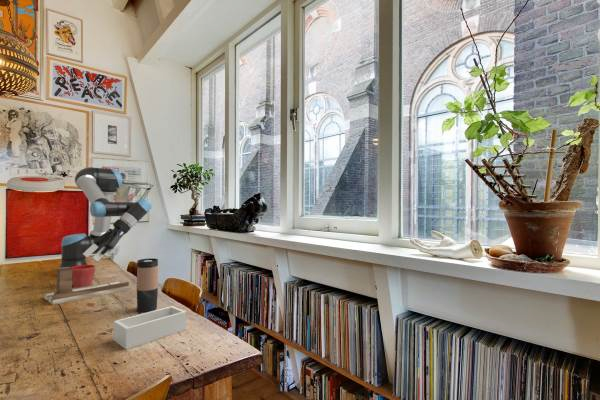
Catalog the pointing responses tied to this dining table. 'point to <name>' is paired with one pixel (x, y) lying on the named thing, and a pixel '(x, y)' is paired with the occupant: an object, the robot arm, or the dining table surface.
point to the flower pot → (82, 275)
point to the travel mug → (147, 285)
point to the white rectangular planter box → (149, 326)
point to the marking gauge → (64, 280)
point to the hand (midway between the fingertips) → (89, 257)
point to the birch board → (87, 292)
